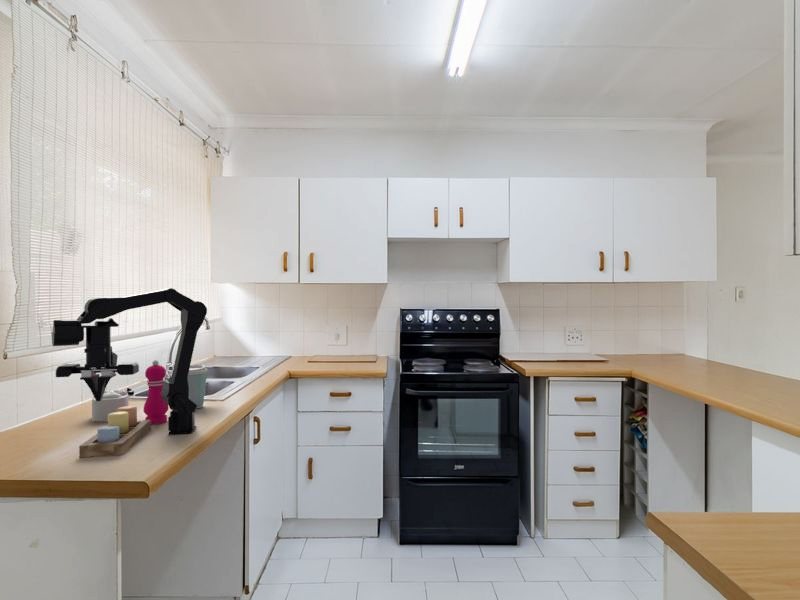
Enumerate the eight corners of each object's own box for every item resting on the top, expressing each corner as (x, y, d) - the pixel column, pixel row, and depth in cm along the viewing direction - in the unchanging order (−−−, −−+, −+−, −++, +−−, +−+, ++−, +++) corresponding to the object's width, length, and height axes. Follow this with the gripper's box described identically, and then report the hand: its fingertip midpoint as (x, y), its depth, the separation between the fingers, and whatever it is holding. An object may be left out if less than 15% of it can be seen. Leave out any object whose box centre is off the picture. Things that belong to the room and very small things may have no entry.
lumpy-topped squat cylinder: (90, 423, 158) (89, 396, 158) (95, 414, 170) (95, 389, 170) (127, 419, 163) (126, 393, 163) (130, 410, 175) (129, 386, 174)
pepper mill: (138, 423, 158) (137, 361, 157) (158, 418, 164) (158, 358, 164) (153, 426, 154) (152, 362, 154) (173, 420, 161) (172, 359, 160)
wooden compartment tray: (151, 429, 150) (150, 419, 150) (122, 454, 127) (122, 443, 127) (115, 431, 149) (115, 421, 148) (79, 457, 125) (79, 445, 125)
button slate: (122, 443, 134) (122, 425, 134) (115, 449, 129) (115, 430, 129) (102, 444, 133) (101, 426, 133) (94, 450, 128) (94, 431, 128)
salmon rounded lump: (139, 422, 147) (139, 405, 147) (133, 426, 143) (133, 409, 142) (121, 423, 147) (120, 406, 146) (114, 427, 142) (114, 410, 142)
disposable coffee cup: (201, 410, 174) (200, 368, 173) (170, 411, 174) (170, 368, 174) (212, 404, 184) (212, 364, 184) (184, 404, 184) (183, 364, 184)
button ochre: (131, 428, 141) (131, 411, 140) (124, 433, 136) (124, 415, 136) (112, 429, 140) (111, 412, 140) (105, 434, 135) (104, 416, 135)
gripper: (144, 340, 144) (144, 393, 144) (72, 341, 140) (72, 396, 140) (132, 344, 133) (133, 401, 133) (54, 345, 129) (54, 405, 129)
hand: (98, 401), depth 134 cm, fingers closed
